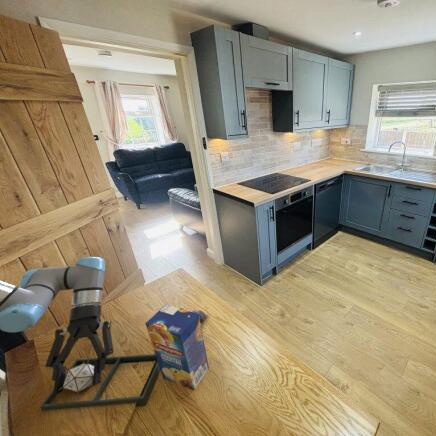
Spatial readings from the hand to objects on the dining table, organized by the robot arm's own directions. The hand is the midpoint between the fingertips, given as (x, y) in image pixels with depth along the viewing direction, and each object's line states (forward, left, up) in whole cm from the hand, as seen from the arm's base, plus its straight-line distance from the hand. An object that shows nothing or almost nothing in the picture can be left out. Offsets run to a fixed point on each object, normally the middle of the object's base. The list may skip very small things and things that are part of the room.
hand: (77, 388), depth 68 cm
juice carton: (+28, +5, -5) cm, 29 cm away
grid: (+6, +3, -5) cm, 8 cm away
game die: (-1, +3, -4) cm, 5 cm away
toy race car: (+21, +25, -5) cm, 33 cm away
